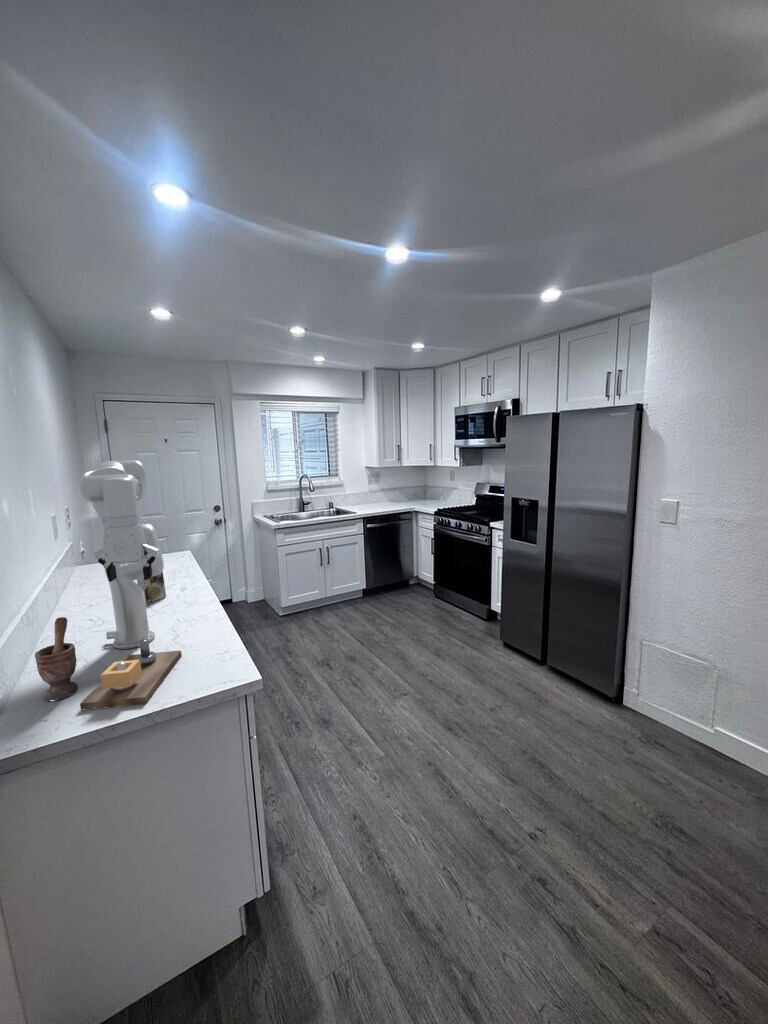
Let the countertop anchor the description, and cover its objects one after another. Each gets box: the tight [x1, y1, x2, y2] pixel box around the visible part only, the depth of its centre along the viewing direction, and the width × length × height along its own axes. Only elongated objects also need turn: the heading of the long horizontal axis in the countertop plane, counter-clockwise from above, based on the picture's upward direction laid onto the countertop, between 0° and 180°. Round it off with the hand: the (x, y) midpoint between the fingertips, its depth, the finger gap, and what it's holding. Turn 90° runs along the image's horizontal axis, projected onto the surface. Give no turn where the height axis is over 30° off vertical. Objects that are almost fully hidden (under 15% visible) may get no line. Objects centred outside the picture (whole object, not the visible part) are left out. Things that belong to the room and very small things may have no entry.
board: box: [79, 650, 183, 711], centre depth 123 cm, size 16×26×2 cm, turn 6°
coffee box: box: [136, 572, 167, 604], centre depth 191 cm, size 9×6×16 cm
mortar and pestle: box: [34, 616, 79, 701], centre depth 117 cm, size 12×9×20 cm
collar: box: [100, 660, 142, 689], centre depth 115 cm, size 7×7×4 cm
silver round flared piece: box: [113, 662, 135, 693], centre depth 115 cm, size 5×5×7 cm
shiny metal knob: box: [136, 639, 156, 666], centre depth 129 cm, size 5×5×7 cm
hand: (130, 579), depth 122 cm, fingers open, 9 cm apart
